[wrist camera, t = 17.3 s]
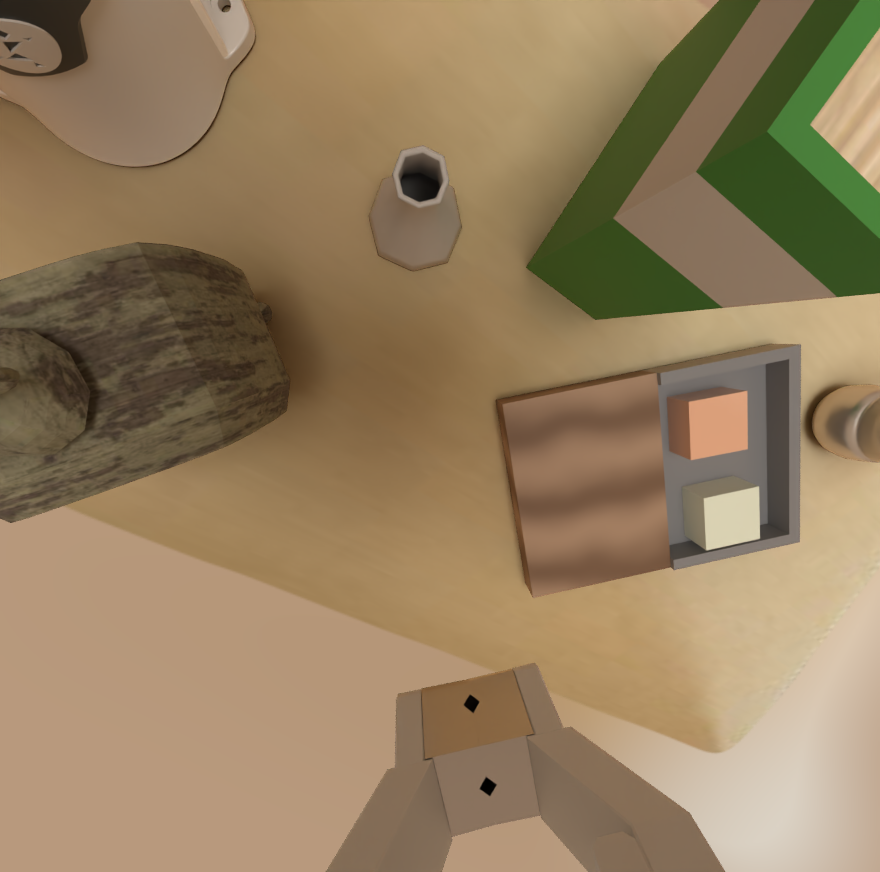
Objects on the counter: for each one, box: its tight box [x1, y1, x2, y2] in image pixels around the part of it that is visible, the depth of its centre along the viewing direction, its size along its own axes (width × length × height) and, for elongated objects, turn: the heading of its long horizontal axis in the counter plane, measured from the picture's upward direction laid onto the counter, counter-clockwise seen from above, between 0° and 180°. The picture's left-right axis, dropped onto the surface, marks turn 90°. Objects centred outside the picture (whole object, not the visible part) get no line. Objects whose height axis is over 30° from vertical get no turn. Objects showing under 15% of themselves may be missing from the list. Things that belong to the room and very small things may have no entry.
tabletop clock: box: [0, 242, 290, 523], centre depth 23 cm, size 14×9×25 cm, turn 109°
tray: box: [641, 344, 801, 570], centre depth 39 cm, size 18×12×3 cm, turn 11°
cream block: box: [682, 476, 760, 550], centre depth 39 cm, size 5×5×3 cm
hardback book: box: [526, 0, 880, 320], centre depth 23 cm, size 18×7×24 cm, turn 147°
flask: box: [369, 145, 462, 271], centre depth 29 cm, size 7×7×10 cm
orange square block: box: [667, 387, 748, 460], centre depth 37 cm, size 5×5×3 cm
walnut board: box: [496, 371, 671, 598], centre depth 39 cm, size 18×13×2 cm
